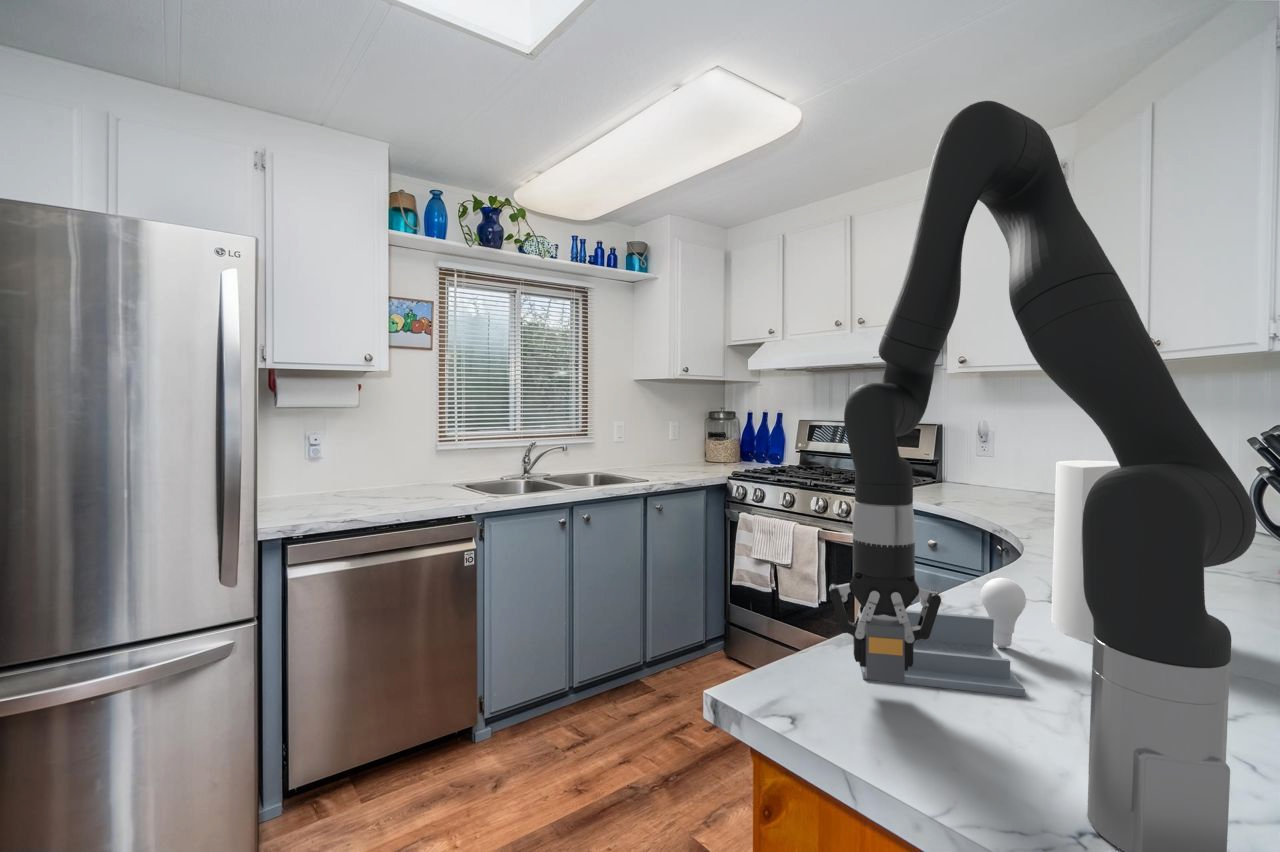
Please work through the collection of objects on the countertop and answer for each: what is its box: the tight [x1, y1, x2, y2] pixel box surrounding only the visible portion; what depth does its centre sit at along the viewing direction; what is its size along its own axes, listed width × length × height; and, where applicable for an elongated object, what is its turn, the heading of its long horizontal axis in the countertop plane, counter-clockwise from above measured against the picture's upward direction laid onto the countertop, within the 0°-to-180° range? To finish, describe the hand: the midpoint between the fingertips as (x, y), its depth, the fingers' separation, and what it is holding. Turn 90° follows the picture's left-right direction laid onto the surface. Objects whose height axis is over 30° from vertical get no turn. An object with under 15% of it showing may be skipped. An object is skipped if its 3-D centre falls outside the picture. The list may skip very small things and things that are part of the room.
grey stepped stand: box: [860, 609, 1026, 698], centre depth 89 cm, size 12×20×6 cm, turn 75°
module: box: [864, 615, 905, 684], centre depth 80 cm, size 5×4×7 cm
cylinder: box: [1050, 459, 1121, 645], centre depth 102 cm, size 17×17×28 cm
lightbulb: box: [980, 577, 1027, 649], centre depth 96 cm, size 6×6×11 cm
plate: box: [913, 639, 1003, 658], centre depth 90 cm, size 7×18×2 cm, turn 75°
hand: (883, 666), depth 80 cm, fingers closed on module, 4 cm apart
